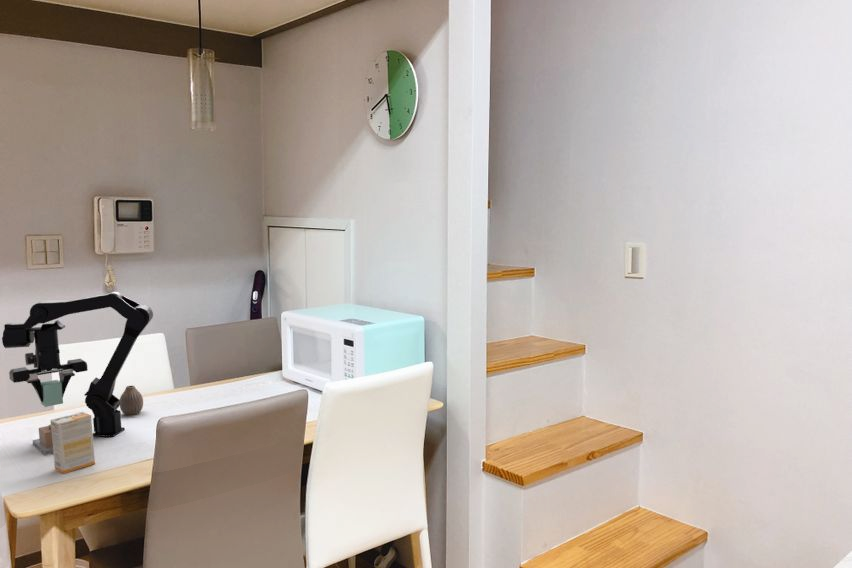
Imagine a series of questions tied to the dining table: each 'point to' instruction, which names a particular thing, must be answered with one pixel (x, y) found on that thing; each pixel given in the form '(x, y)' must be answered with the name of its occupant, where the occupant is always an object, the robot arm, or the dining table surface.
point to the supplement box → (72, 442)
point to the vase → (131, 401)
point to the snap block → (52, 393)
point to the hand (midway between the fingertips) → (51, 399)
